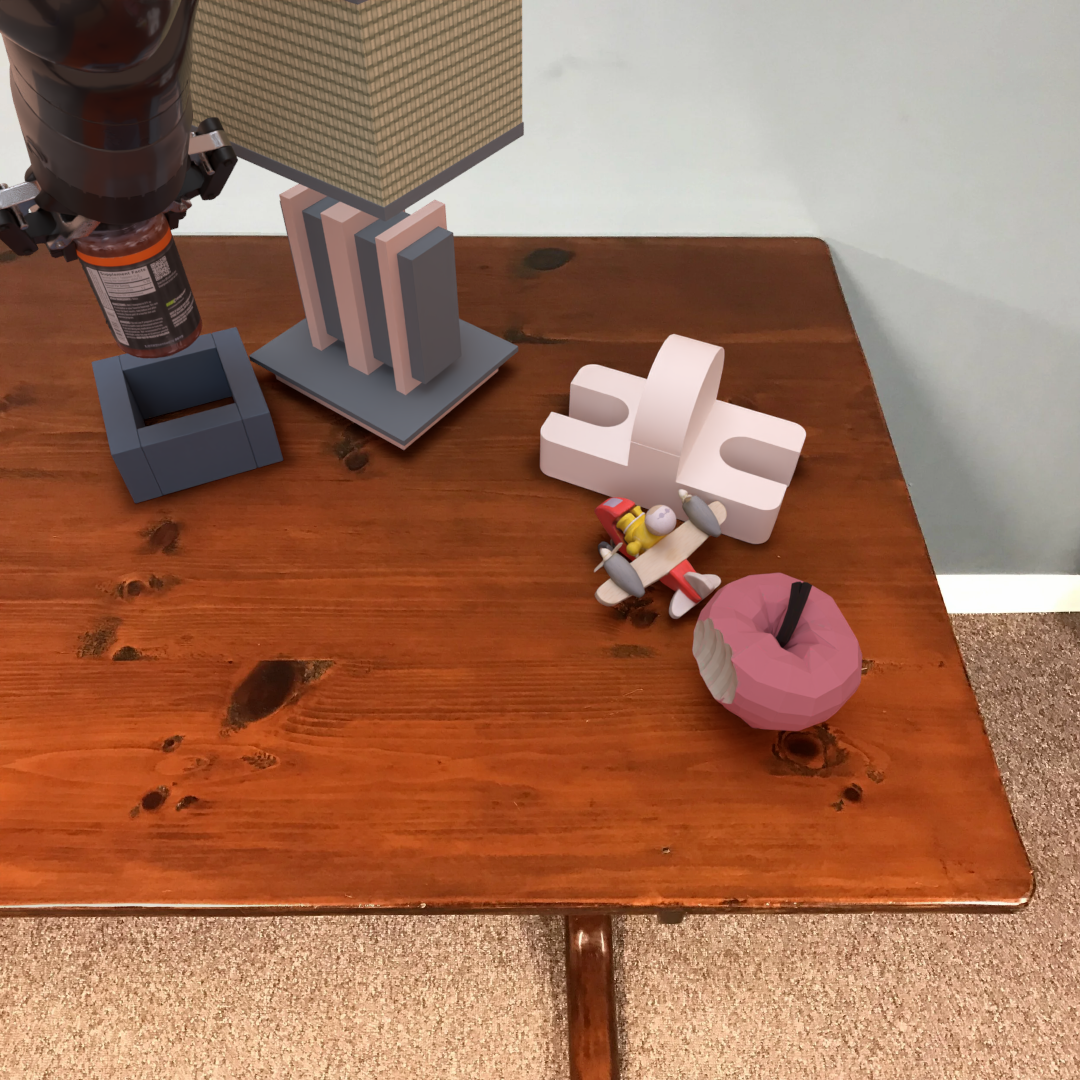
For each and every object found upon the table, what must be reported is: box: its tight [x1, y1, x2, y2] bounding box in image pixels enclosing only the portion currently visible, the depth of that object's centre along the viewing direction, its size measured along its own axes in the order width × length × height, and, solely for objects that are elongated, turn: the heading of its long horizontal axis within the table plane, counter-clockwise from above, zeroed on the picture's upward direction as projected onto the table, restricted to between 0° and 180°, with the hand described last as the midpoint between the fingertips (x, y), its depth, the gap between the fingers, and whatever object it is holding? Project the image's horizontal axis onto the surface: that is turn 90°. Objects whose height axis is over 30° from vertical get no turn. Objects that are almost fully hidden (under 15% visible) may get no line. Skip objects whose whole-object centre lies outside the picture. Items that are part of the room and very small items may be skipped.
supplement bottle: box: [73, 212, 203, 359], centre depth 58 cm, size 6×6×11 cm
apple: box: [692, 572, 863, 732], centre depth 52 cm, size 10×9×10 cm
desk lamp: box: [190, 0, 525, 451], centre depth 63 cm, size 18×14×33 cm
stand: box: [91, 326, 284, 504], centre depth 68 cm, size 11×11×5 cm
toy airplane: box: [593, 489, 727, 620], centre depth 59 cm, size 9×9×6 cm
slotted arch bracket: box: [539, 333, 807, 545], centre depth 65 cm, size 10×18×11 cm, turn 66°
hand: (115, 230), depth 58 cm, fingers closed on supplement bottle, 6 cm apart
